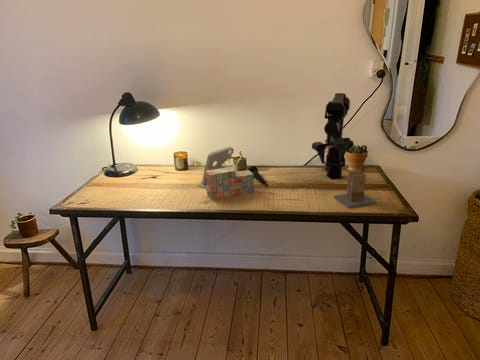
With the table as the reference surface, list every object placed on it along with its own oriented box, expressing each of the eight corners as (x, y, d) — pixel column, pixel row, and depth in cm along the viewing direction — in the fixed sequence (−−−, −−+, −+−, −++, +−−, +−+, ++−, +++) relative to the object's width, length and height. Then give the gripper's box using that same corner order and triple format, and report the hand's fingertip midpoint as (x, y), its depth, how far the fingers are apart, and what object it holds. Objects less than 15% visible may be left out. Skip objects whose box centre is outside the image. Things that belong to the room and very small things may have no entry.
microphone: (269, 191, 197) (253, 174, 213) (273, 181, 195) (256, 164, 211) (260, 190, 195) (244, 173, 211) (264, 180, 193) (247, 163, 209)
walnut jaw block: (346, 196, 179) (348, 171, 175) (358, 195, 180) (361, 170, 176) (351, 201, 174) (353, 175, 170) (363, 200, 175) (365, 175, 170)
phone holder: (221, 175, 211) (220, 142, 204) (235, 180, 204) (234, 146, 198) (196, 185, 199) (194, 150, 192) (210, 190, 192) (208, 154, 186)
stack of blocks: (249, 187, 195) (248, 163, 190) (254, 192, 189) (253, 167, 185) (206, 194, 188) (205, 170, 183) (210, 199, 182) (209, 174, 178)
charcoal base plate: (360, 193, 185) (360, 191, 184) (376, 203, 174) (376, 201, 174) (333, 197, 181) (334, 195, 180) (348, 208, 170) (348, 206, 170)
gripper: (324, 136, 171) (322, 170, 177) (361, 131, 176) (358, 165, 182) (311, 130, 181) (310, 162, 187) (348, 126, 186) (345, 158, 192)
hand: (331, 162), depth 187 cm, fingers open, 9 cm apart
